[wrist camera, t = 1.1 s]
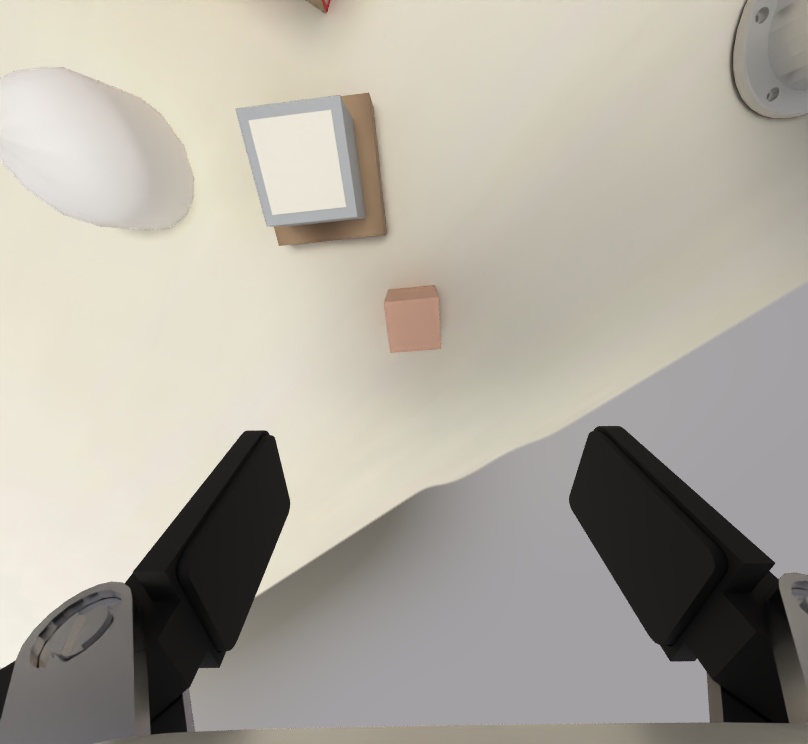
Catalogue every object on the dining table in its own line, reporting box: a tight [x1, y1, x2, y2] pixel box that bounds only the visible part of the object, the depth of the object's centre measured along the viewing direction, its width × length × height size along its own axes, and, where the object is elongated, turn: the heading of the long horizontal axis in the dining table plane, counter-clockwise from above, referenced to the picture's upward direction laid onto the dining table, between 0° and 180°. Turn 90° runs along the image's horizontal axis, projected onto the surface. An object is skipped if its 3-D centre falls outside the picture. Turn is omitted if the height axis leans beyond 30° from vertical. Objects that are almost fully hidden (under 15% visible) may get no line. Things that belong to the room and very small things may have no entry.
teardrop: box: [0, 67, 194, 230], centre depth 23 cm, size 11×11×12 cm
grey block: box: [236, 95, 366, 226], centre depth 23 cm, size 7×7×5 cm
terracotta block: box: [384, 286, 441, 353], centre depth 31 cm, size 5×5×6 cm
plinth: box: [274, 93, 387, 246], centre depth 27 cm, size 10×10×3 cm
